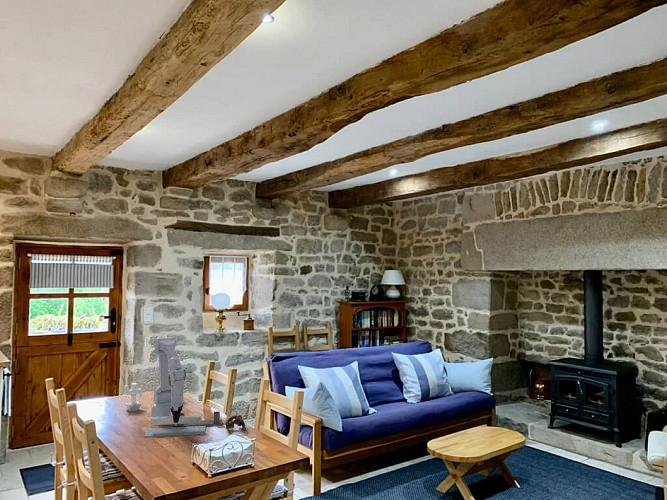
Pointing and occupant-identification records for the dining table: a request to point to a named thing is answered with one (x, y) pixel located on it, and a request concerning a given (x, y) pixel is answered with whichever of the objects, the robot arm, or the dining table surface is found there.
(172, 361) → the robot arm
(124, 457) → the dining table surface
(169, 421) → the steel rail
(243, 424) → the brown arched figure
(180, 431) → the slate mat
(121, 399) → the dining table surface
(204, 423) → the hook standards
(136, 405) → the figurine
